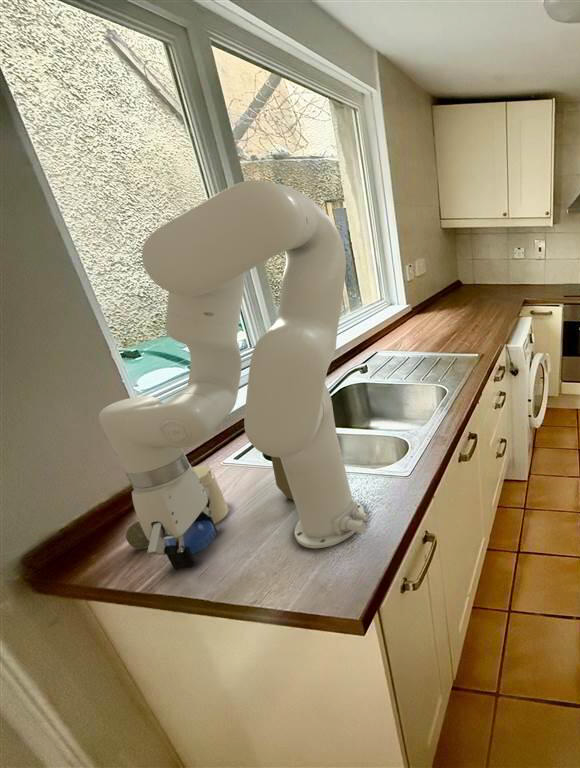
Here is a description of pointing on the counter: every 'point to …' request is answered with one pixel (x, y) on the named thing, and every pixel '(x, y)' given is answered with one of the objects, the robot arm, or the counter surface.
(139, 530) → the lime
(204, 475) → the jar
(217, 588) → the counter surface
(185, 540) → the lid
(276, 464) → the squeeze bottle
